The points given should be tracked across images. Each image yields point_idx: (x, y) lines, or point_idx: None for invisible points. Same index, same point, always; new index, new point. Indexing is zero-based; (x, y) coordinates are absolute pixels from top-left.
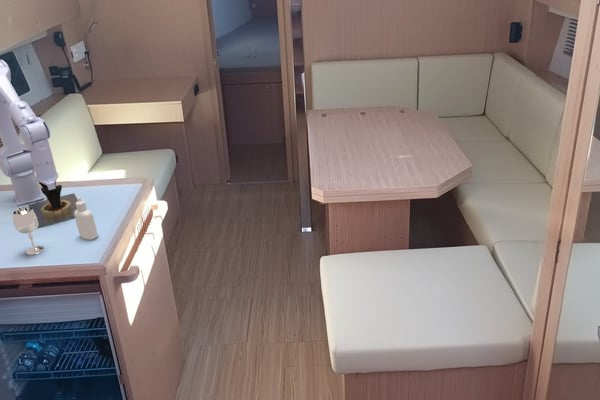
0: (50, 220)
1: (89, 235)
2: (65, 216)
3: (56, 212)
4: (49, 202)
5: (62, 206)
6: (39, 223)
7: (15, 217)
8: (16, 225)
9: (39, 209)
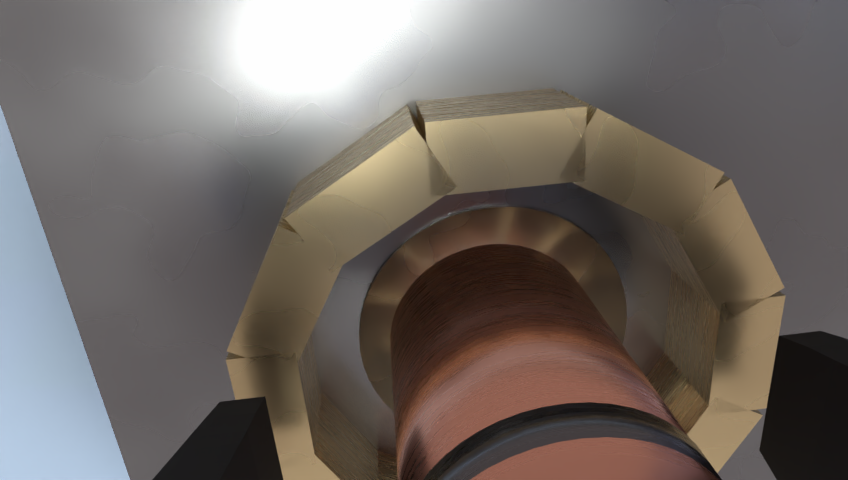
0: (116, 226)
1: None
2: (183, 439)
3: (239, 380)
4: (449, 408)
5: None
6: (58, 19)
7: None
8: None
9: (785, 51)
